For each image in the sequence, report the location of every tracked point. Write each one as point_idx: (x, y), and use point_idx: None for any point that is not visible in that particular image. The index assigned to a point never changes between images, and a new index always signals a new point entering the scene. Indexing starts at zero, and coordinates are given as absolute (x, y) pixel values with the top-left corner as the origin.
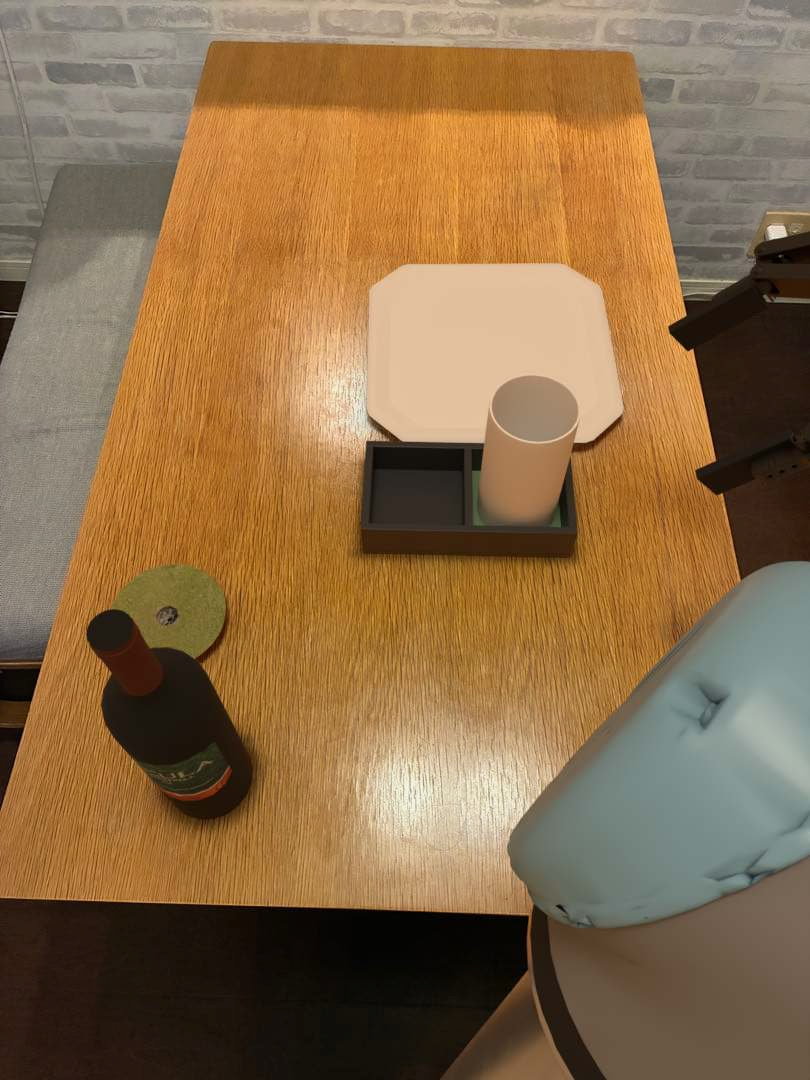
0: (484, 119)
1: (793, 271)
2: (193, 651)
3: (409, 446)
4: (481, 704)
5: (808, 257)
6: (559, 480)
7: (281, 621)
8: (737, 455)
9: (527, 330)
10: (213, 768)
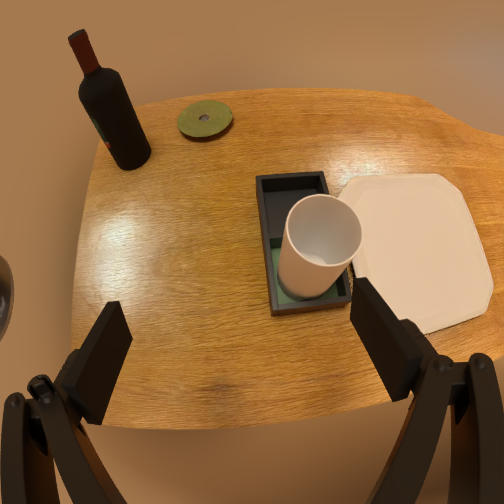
0: None
1: (427, 422)
2: (185, 130)
3: (325, 194)
4: (163, 266)
5: (463, 442)
6: (296, 280)
7: (208, 162)
8: (96, 334)
9: (445, 269)
10: (99, 132)
